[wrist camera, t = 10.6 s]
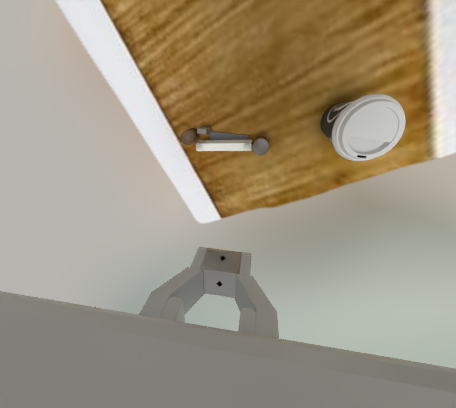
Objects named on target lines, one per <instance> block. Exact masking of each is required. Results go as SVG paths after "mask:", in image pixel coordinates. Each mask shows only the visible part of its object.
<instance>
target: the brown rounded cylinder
mask: <svg viewBox="0 0 456 408" xmlns="http://www.w3.org/2000/svg"><path fill="white" fill-rule="evenodd" d="M209 132H210V127H203V126H201V127H199V128H197V130H196V129H190V130H188V131H185V132H183V133H182V134H181V141H182V143H183V144H185V145H190V144H192V143H193V142H195V141H196V140H198V138H199V134H208V133H209Z"/></svg>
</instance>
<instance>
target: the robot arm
mask: <svg viewBox="0 0 456 408" xmlns="http://www.w3.org/2000/svg"><path fill="white" fill-rule="evenodd" d="M250 268H251V253H245V252H234V251H227V250H219V249H212V248H204V247H199V248H198V250H197V252H196V255H195V257H194V260H193V262H192V264H191V267H190V268H189V267H187V268H186V269H185V270H183V271H182V272H180V273H179V274H177V275H176V276H174V277H173V278H172V279H170V280H169V281H167V282H166V283H164V284H163V285H161V286H160V287H159V288H157V289H155V290H154V291H153V292H151V294H150V296H149V298H148V299H147V301H146V303H145V305H144V307H143V309H142V310H141V312H140V313H139V315H137V314H131V313H125V312H119V311H113V310H107V309H101V308H96V307H90V306H84V305H78V304H72V303H66V302H60V301H54V300H49V299H42V298H37V297H30V296H25V295H19V294H13V293H7V292H1V291H0V408H456V369H455V368H448V367H442V366H437V365H431V364H425V363H419V362H412V361H407V360H402V359H396V358H390V357H384V356H378V355H372V354H366V353H360V352H354V351H349V350H343V349H337V348H331V347H324V346H319V345H313V344H308V343H302V342H296V341H290V340H284V339H279V335H278V321H277V311H276V310H275V309H274V307H273V306H272V304H271V303H270V301H269V300H268V298H267V297H266V295H265V294H264V293H263V291H262V289H261V288H260V286H259V285H258V283H257V282H256V280H255V279H254V277H252V276H250ZM204 293H205V294H213V295H221V296H226V297H232V298H235V301H236V303H237V305H238V308H239V310H240V321H239V331H238V332H236V331H230V330H224V329H218V328H213V327H207V326H201V325H195V324H189V323H185V318H184V315H185V313H186V312H187V311H188V310H189V309H190V308H191V307H192V306H193V305H194V304H195V303H196V302H197V301H198V300H199V299H200V298H201V297H202V296H203V295H204Z"/></svg>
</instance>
